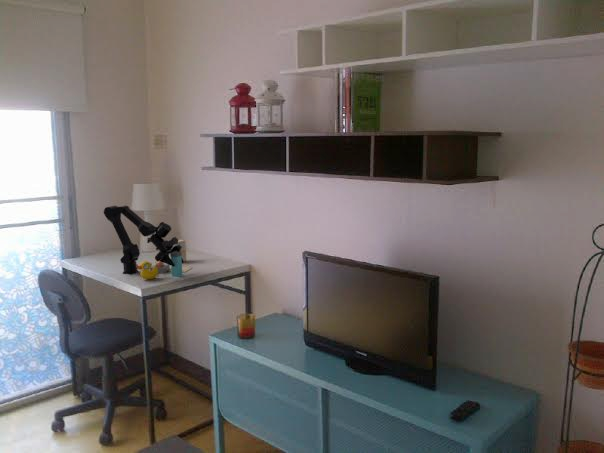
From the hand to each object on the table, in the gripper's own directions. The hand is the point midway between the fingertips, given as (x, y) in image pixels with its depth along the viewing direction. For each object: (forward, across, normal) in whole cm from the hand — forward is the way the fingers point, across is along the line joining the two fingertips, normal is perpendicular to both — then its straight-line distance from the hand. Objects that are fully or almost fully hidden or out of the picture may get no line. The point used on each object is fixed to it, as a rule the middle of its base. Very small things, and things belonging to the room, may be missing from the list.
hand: (178, 264), depth 298 cm
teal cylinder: (+4, 0, +6) cm, 7 cm away
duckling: (-4, -10, +14) cm, 18 cm away
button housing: (-7, +7, +16) cm, 19 cm away
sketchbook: (-1, +12, +10) cm, 16 cm away
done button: (-9, +7, +15) cm, 18 cm away
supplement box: (-8, +29, +18) cm, 35 cm away
